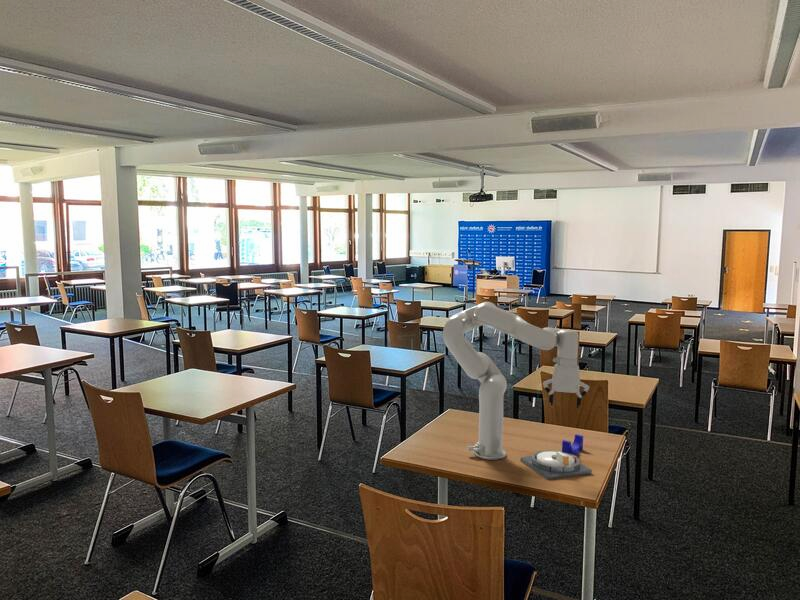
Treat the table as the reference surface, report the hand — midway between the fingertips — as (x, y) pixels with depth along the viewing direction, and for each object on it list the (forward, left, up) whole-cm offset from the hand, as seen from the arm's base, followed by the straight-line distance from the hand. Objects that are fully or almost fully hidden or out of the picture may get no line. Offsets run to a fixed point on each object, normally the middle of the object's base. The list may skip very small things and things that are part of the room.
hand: (564, 405), depth 225 cm
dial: (-5, -2, -21) cm, 22 cm away
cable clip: (+12, +9, -24) cm, 28 cm away
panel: (-5, -2, -23) cm, 24 cm away
